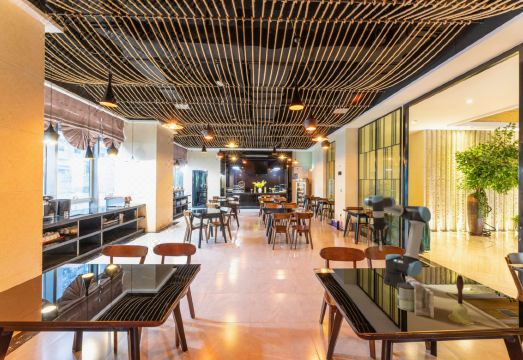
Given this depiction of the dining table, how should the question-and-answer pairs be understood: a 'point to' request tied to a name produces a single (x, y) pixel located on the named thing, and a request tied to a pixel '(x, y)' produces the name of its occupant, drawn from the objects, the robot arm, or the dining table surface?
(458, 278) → the handbell
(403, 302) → the coffee can
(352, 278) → the dining table surface
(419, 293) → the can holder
